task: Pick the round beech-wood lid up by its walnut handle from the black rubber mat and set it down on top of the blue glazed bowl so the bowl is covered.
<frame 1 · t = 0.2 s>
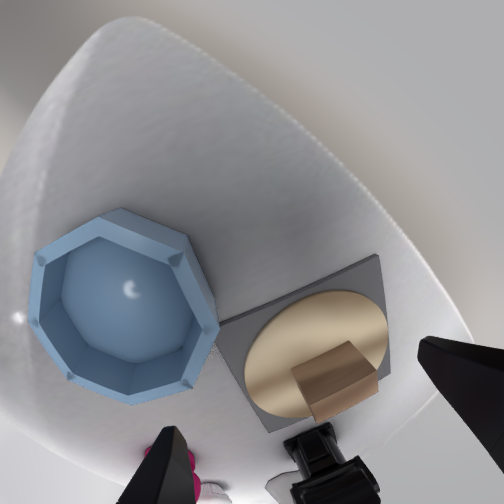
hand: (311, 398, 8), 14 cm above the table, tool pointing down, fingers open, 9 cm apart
flask: (286, 479, 32), on the table
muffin: (208, 485, 29), on the table
lid: (320, 360, 25), point 1 cm above the table, touching mat
bowl: (127, 297, 20), on the table
mat: (318, 357, 25), on the table
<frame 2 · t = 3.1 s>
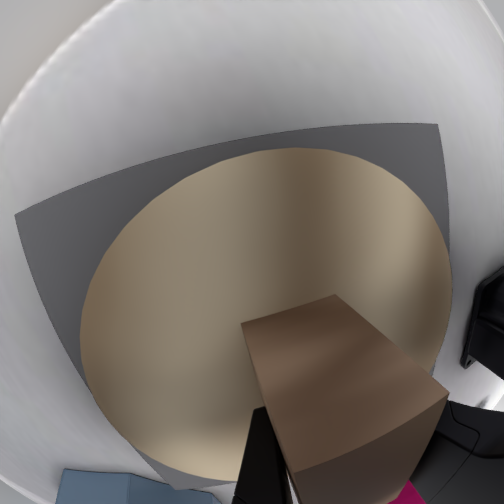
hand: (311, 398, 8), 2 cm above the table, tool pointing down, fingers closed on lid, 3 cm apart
lid: (294, 367, 10), point 1 cm above the table, touching gripper, mat
mat: (289, 358, 10), on the table
pepper mill: (389, 474, 17), on the table
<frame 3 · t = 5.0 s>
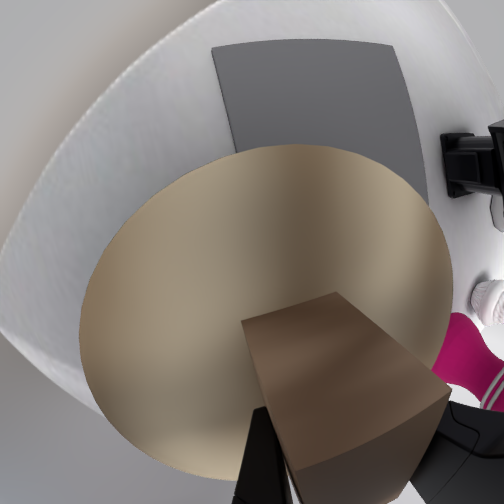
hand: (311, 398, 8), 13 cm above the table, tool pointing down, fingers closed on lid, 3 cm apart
flask: (499, 203, 24), on the table
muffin: (476, 293, 27), on the table
lid: (295, 365, 9), point 11 cm above the table, touching gripper
mat: (339, 132, 19), on the table
pepper mill: (422, 327, 26), on the table
when the fingers open (8 cm above the table, at t = 7.1 s): lid drops 1 cm, resting on bowl.
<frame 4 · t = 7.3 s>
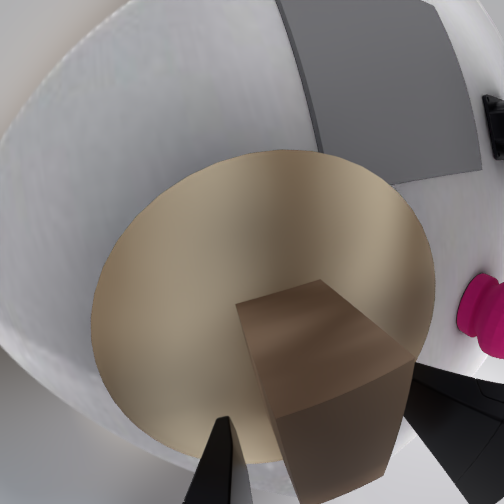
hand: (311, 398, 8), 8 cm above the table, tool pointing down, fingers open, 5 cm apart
lid: (285, 349, 11), point 5 cm above the table, touching bowl
mat: (399, 68, 14), on the table
pepper mill: (472, 301, 21), on the table
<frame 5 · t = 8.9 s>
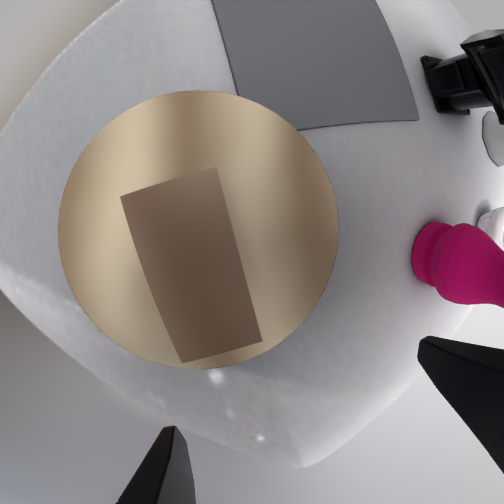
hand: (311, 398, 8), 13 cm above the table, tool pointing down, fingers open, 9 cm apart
flask: (492, 138, 23), on the table
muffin: (481, 227, 25), on the table
lid: (195, 239, 14), point 5 cm above the table, touching bowl
mat: (320, 37, 17), on the table
pepper mill: (430, 251, 24), on the table
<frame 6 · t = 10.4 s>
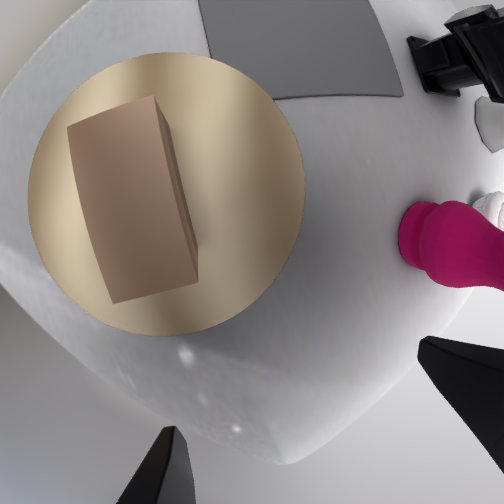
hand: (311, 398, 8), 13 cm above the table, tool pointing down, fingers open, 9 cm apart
flask: (485, 124, 22), on the table
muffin: (475, 213, 24), on the table
lid: (155, 194, 13), point 5 cm above the table, touching bowl
mat: (300, 15, 16), on the table
pepper mill: (419, 233, 23), on the table
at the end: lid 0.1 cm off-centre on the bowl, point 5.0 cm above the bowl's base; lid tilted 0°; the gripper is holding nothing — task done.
